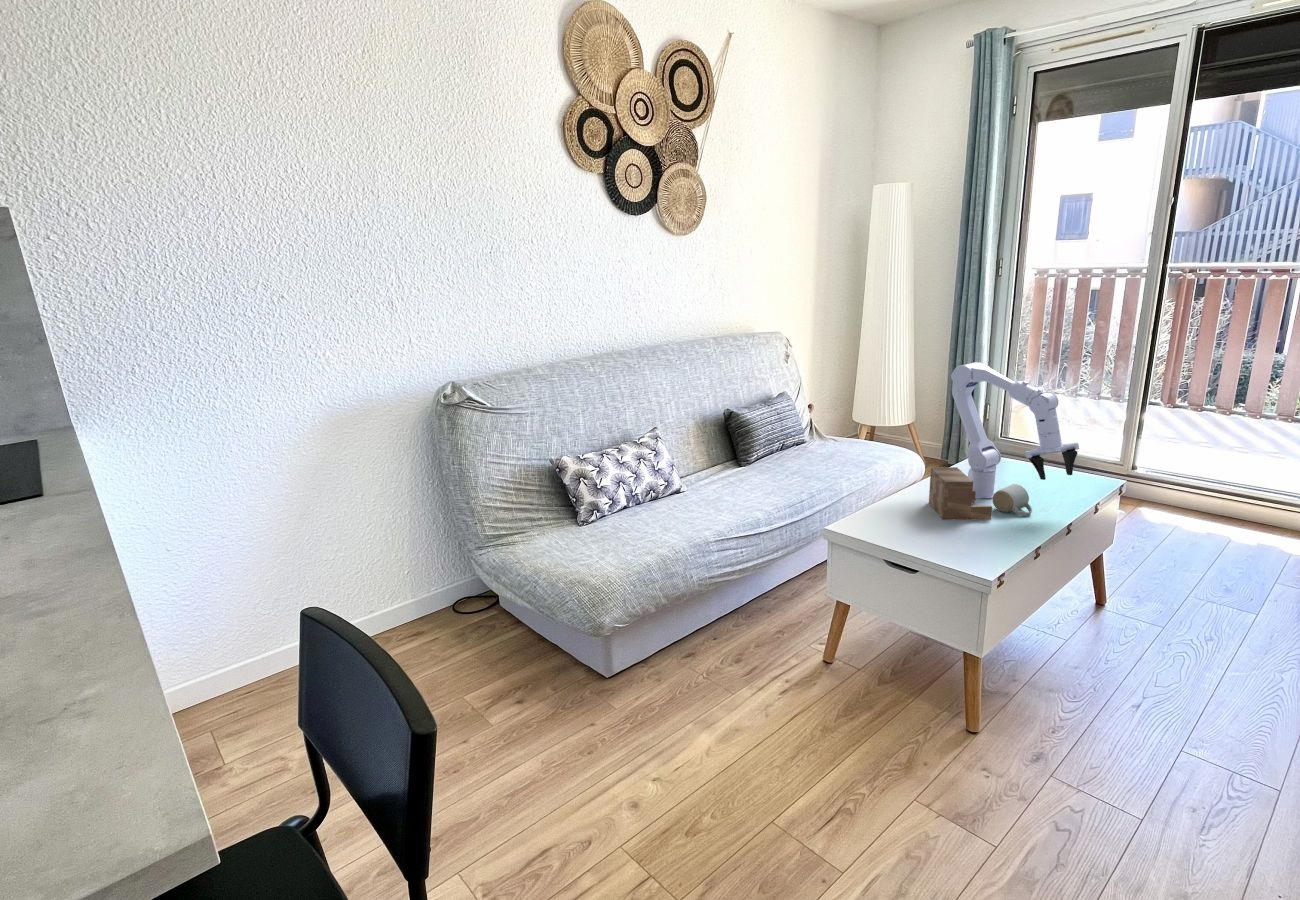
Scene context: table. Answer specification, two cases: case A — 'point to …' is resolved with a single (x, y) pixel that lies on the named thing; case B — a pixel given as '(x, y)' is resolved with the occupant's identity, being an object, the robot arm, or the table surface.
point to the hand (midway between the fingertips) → (1056, 477)
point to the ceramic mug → (1012, 500)
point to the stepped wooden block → (954, 495)
